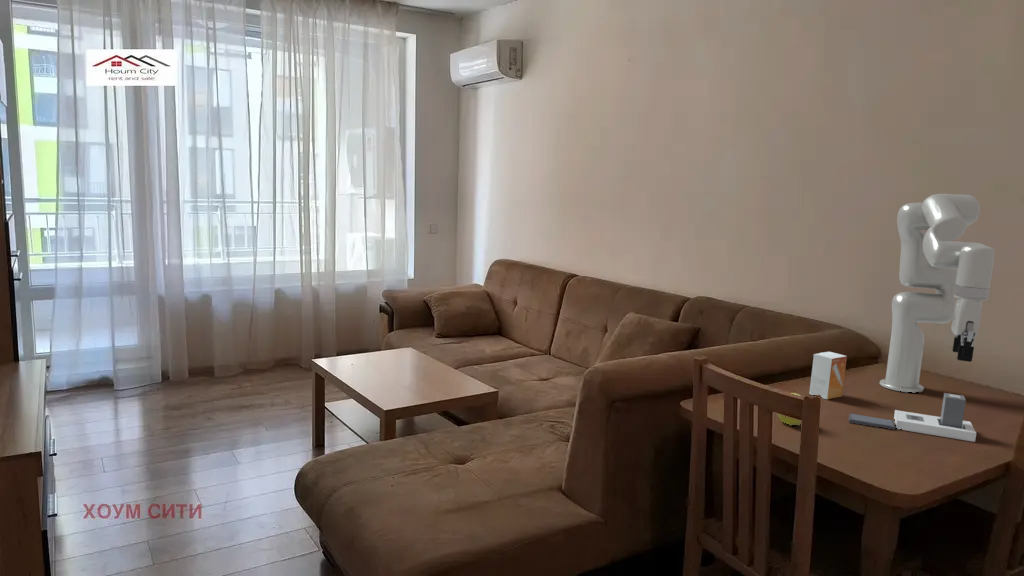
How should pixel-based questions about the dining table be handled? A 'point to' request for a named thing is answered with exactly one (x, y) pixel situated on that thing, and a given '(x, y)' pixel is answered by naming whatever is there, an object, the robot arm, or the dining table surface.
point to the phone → (871, 421)
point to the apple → (789, 420)
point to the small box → (828, 375)
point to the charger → (952, 410)
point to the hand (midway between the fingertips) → (961, 356)
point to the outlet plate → (932, 426)
